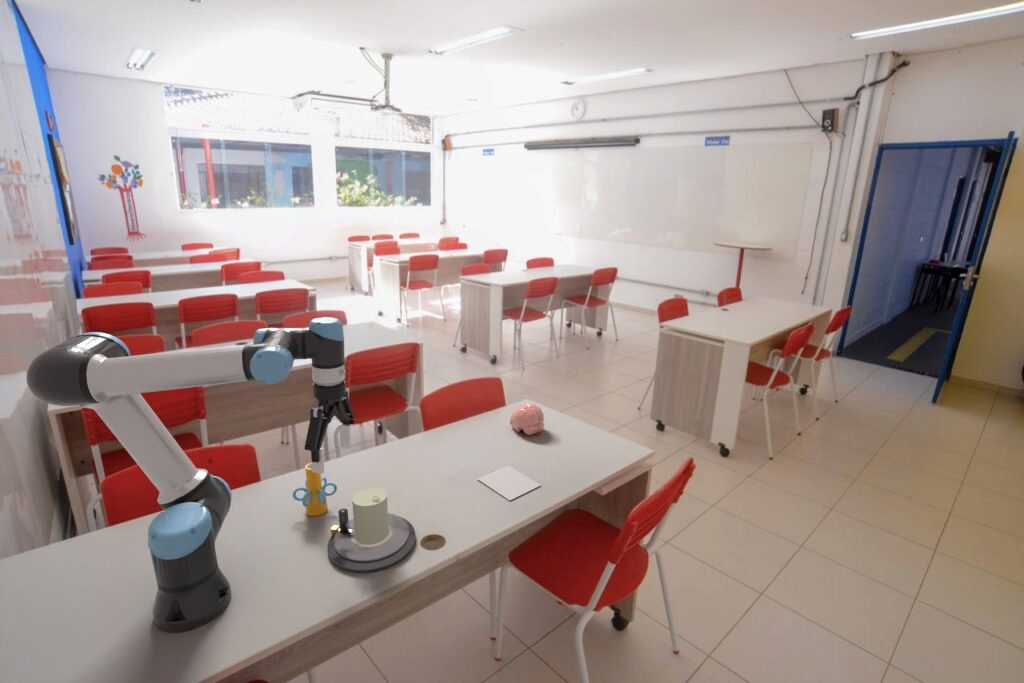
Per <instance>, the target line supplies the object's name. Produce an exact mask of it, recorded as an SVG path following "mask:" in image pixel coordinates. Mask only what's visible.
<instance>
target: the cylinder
mask: <svg viewBox="0 0 1024 683" xmlns="http://www.w3.org/2000/svg"><path fill="white" fill-rule="evenodd" d="M304 470H305V478H306V480H305V487H301V486H300V487H298V488H296V489H295V490H294V491H293V492H292V498H293V499H294V500H296V501H299V502H300V501H302V502H301V503H302V506H303V507H305V512H306V515H308V516H309V517H317V516H321V515H323V514H325V513H326V512H327V511H328V499H327V496H328V497H331V496H333V495H334V494H336V492H337V491H338V488H337V487H338V486H337V485H336V483H333V482H328V481H327V480H328V479H327V478H326V477H324V476H323V477H322V474H321V473H314V472H312V462H309V463H307V464H306V465H305V469H304ZM323 483H324V484H323ZM328 486H332V487H333V491H331V492H327V491H326V488H327V487H328ZM299 491H303V492H304V494H303V496H302V497H298V496H297V495H296V494H297V493H298V492H299Z"/></svg>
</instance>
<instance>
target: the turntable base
mask: <svg viewBox="0 0 1024 683" xmlns="http://www.w3.org/2000/svg"><path fill="white" fill-rule="evenodd" d="M400 517H401V518H402V519H403V520H404V521H405V522H406V523H407V525H408V527H409V538H408V541H407V543H406V545H405V546H404V547H403V548H402V549H401V550H400V551H399V552H398V553H396V554H395V555H393V556H391V557H389V558H387V559H384V560H381V561H378V562H372V563H354V562H350V561H347V560H345V559H343V558H341V557H340V556H339V555H338V554H337V553H336V551H335V547H334V537H335V534H336V532H337V531H338V529H339V528H340V526H339V525H333V526H332V527H331V528H330V535H331V536H330V537H329V540H328V543H327V554H328V559H329V561H330V562H331V563H332V564H333V565H334V566H335V567H337V568H338V569H339V570H342V571H344V572H346V573H347V572H348V573H354V574H371V573H378V572H381V571H384V570H387V569H390V568H393V567H394V566H396V565H398V564H400V563H401V562H402V561H404V560H406V558H407V557H408V556H409V555H410V554H411V552H413V550H414V547H415V545H416V531H415V528H414V526H413V525H412V523H411V522H410V521H408V520H407V519H406V518H404V517H402V516H400Z"/></svg>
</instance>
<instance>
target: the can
mask: <svg viewBox="0 0 1024 683" xmlns="http://www.w3.org/2000/svg"><path fill="white" fill-rule="evenodd" d="M351 504H352V515H353V518H354V531H355V534H354V538H355V540H356V541H357V542H359V543H361V544H375V543H378V542H381V541H383V540H384V539H385V538H386V537H387V536H388V535H389V525H388V513H389V512H388V508H389V507H388V492H387V490H385V489H384V488H382V487H377V486H370V487H365V488H362V489H361V488H360V489H359V490H358V491H355V493H354V494H353V495H352V496H351Z"/></svg>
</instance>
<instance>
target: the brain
mask: <svg viewBox="0 0 1024 683" xmlns="http://www.w3.org/2000/svg"><path fill="white" fill-rule="evenodd" d="M544 420H545V415H544V412H543V411H542V408H541V407H539V406H537V405H535V404H533V403H525V404H522V405H518V406H517V407H516V408H515V409H513V411H512V413H511V415H510V417H509V423H510V426H511V427H513V429H514V430H515V431H516V432H517V433H520V432H522V430H523V433H524V434H525V435H527V436H532V435H534V434H537V433H540V432H541V431H543V430H544V427H545V423H544Z"/></svg>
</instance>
